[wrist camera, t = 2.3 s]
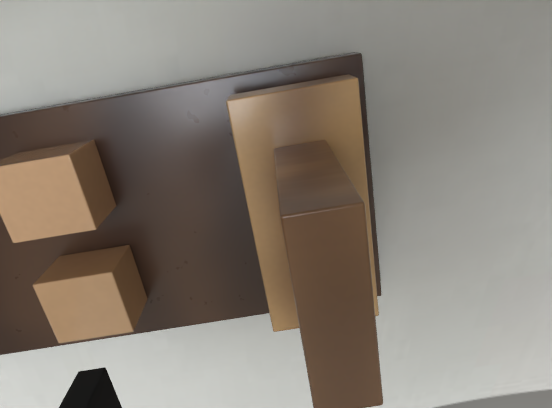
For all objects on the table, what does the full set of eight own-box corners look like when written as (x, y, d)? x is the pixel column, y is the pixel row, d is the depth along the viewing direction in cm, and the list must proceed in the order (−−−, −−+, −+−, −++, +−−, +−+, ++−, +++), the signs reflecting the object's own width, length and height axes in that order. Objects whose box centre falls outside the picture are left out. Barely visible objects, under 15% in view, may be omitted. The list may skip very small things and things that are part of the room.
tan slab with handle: (344, 71, 22) (423, 104, 11) (364, 281, 26) (434, 447, 16) (231, 91, 22) (200, 142, 11) (272, 296, 27) (278, 469, 16)
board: (356, 52, 23) (362, 52, 21) (376, 283, 28) (381, 296, 27) (-132, 137, 24) (-157, 144, 22) (-20, 345, 29) (-34, 360, 28)
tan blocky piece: (129, 244, 25) (111, 272, 22) (148, 299, 26) (133, 332, 23) (58, 255, 25) (31, 284, 22) (81, 309, 27) (58, 344, 24)
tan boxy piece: (94, 139, 23) (69, 154, 20) (117, 206, 24) (96, 230, 21) (16, 152, 23) (-21, 170, 20) (43, 218, 24) (12, 243, 21)
